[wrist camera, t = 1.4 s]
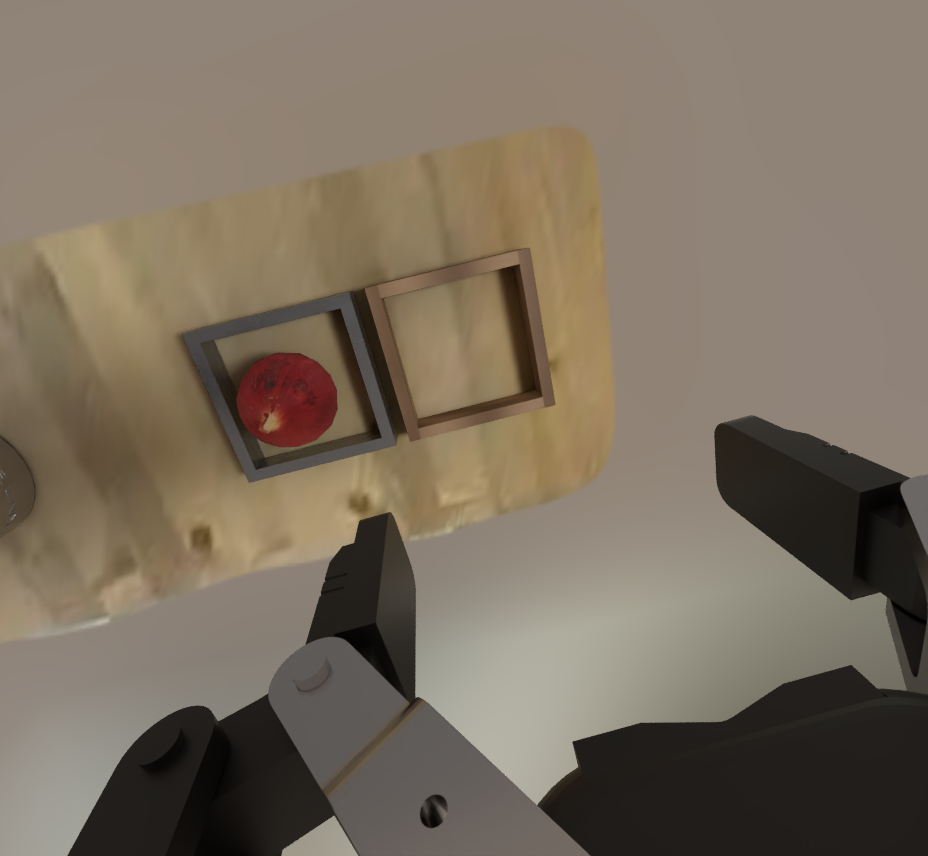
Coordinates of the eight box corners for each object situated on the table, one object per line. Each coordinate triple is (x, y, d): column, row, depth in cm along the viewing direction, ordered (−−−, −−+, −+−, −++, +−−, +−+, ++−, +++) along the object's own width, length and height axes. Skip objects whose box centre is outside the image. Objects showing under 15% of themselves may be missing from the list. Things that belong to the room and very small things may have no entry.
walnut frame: (410, 431, 33) (410, 441, 31) (367, 286, 30) (364, 288, 28) (547, 397, 34) (555, 404, 32) (522, 248, 30) (529, 247, 28)
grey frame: (258, 470, 33) (249, 482, 31) (196, 329, 29) (181, 333, 28) (397, 435, 33) (396, 445, 31) (353, 290, 30) (348, 292, 28)
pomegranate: (254, 343, 30) (201, 369, 23) (342, 344, 31) (318, 369, 23) (265, 425, 32) (219, 473, 25) (347, 424, 33) (327, 471, 25)
